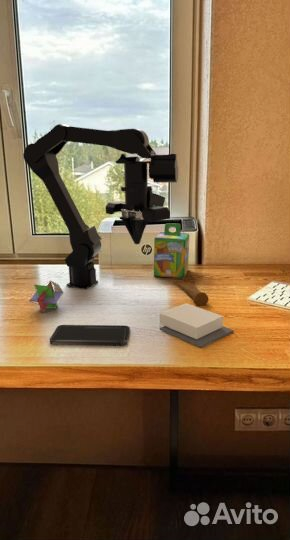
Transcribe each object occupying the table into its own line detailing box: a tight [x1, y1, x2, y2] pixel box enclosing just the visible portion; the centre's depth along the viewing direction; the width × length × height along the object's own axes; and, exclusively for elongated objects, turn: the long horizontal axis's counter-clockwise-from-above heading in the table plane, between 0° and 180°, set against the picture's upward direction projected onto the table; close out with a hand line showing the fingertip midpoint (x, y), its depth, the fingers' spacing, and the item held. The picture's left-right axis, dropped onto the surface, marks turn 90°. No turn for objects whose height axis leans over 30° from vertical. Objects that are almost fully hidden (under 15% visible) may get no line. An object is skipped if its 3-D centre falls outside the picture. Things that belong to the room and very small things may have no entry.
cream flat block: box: [159, 302, 224, 339], centre depth 84 cm, size 3×8×10 cm
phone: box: [49, 324, 131, 347], centre depth 81 cm, size 8×1×15 cm
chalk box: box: [153, 222, 190, 279], centre depth 119 cm, size 9×9×15 cm
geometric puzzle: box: [29, 280, 65, 314], centre depth 94 cm, size 7×7×8 cm
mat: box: [159, 325, 235, 349], centre depth 83 cm, size 11×10×1 cm
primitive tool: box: [172, 278, 209, 307], centre depth 105 cm, size 19×6×4 cm, turn 12°
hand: (137, 243), depth 106 cm, fingers closed
